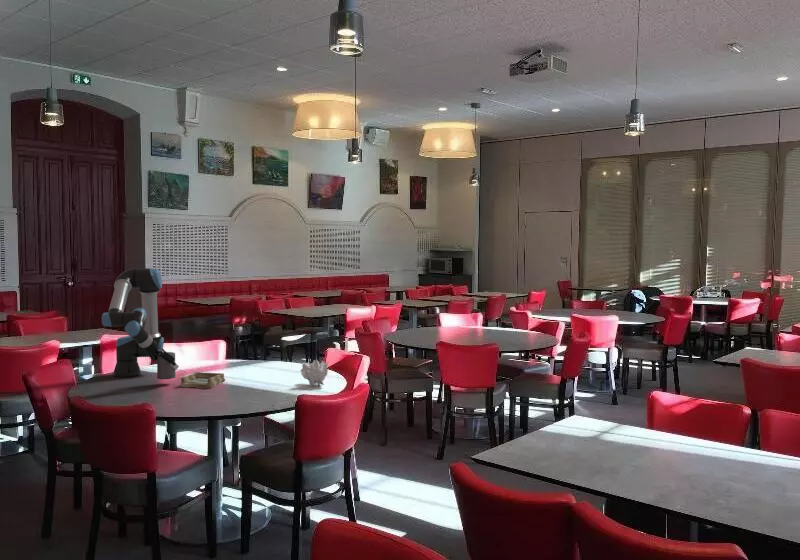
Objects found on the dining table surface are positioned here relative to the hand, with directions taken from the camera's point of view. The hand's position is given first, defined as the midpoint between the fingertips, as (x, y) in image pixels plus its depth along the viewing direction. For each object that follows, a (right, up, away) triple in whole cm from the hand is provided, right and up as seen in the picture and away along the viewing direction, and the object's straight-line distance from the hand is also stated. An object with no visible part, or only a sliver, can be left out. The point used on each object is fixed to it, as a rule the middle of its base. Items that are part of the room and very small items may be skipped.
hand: (170, 367), depth 374 cm
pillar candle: (-2, -6, -2) cm, 6 cm away
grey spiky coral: (+80, -10, -3) cm, 81 cm away
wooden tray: (+19, -10, -2) cm, 21 cm away
